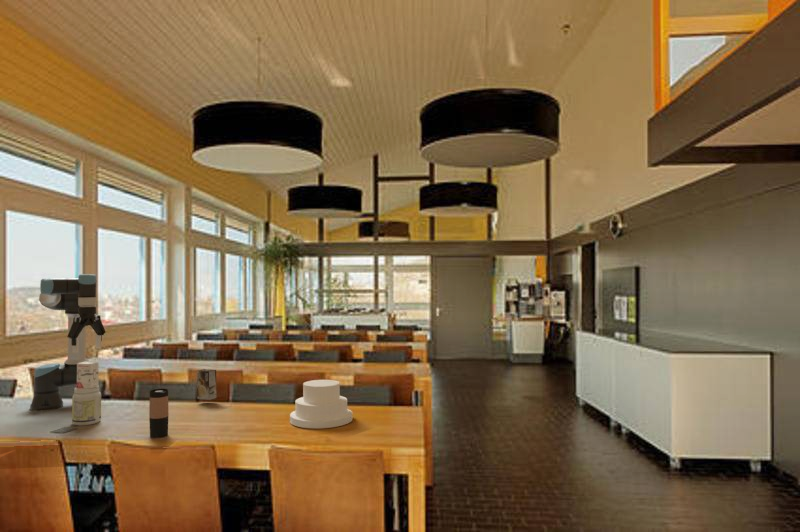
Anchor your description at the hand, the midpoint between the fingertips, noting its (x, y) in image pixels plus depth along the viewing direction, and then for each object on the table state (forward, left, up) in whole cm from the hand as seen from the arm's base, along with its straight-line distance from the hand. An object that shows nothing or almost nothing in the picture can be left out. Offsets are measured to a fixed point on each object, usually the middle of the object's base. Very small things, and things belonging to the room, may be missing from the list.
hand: (87, 350), depth 262 cm
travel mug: (+11, +49, -34) cm, 61 cm away
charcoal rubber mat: (+14, +1, -34) cm, 37 cm away
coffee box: (-58, +26, -35) cm, 72 cm away
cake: (-31, +108, -35) cm, 117 cm away
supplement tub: (0, 0, -35) cm, 35 cm away
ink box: (0, 0, -18) cm, 18 cm away
